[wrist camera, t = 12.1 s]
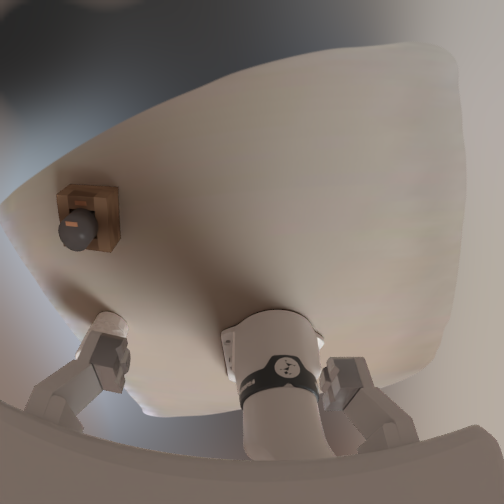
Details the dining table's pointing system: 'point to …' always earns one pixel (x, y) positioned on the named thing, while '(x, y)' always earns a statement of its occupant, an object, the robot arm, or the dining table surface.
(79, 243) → the knob
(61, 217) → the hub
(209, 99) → the dining table surface
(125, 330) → the white cup
